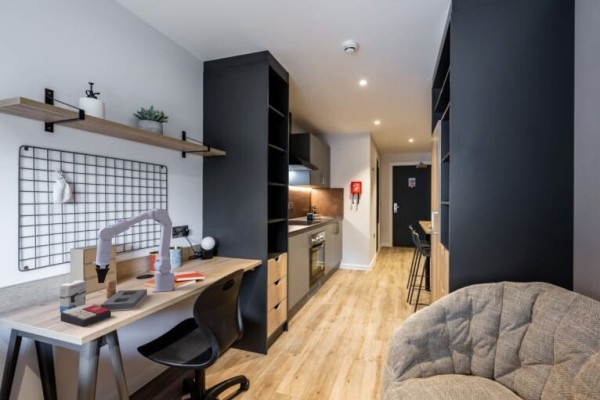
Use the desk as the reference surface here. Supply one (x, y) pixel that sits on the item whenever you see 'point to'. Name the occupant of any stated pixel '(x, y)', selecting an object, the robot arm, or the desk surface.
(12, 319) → the desk surface
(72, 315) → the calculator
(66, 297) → the ink box
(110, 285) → the peg
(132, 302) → the board
